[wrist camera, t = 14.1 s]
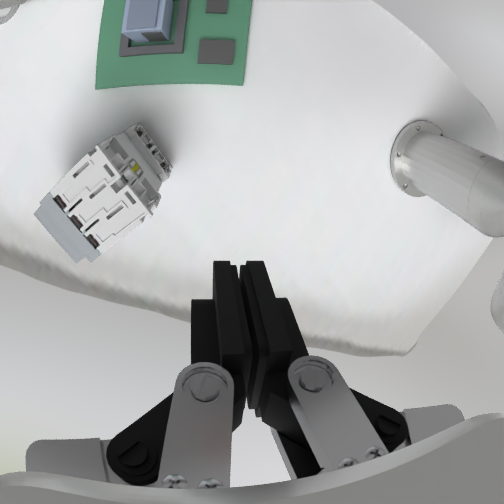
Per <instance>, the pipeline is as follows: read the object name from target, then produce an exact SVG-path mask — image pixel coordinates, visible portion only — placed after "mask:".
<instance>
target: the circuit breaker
mask: <svg viewBox="0 0 504 504" xmlns="http://www.w3.org/2000/svg"><path fill="white" fill-rule="evenodd" d="M140 130H141V132H142V133H143V134H142V135H141V136H140V137H139V136H138V134H137V132H138V131H140ZM144 135H145V136H146V137H145V136H144ZM146 138H147V139H148V140H149V141H148V140H147V139H146ZM149 143H150V144H151V146H152V147H150V148H149V147H148V146H147V145H148V144H149ZM153 150H155V151H156V153H154V154H153V152H152V151H153ZM158 154H159V155H160V156H159V155H158ZM160 157H161V158H162V159H161V158H160ZM162 162H164V163H165V166H163V167H161V166H160V164H161V163H162ZM171 169H172V166H171V165H170V164H169V162H168V161H167V159H166V158H165V157H164V155H163V154H162V153H161V151H160V150H159V148H158V147H157V146H156V144H155V143H154V142H153V140H152V139H151V137H150V136H149V135H148V133H147V132H146V131H145V129H144V128H143V126H142V125H141V124H140V122H139V123H138V124H135V125H133V126H131V127H129V128H128V129H127V130H126V131H124V132H123V133H121V134H119V135H117V136H115V135H113V136H111V137H109V138H107V139H106V140H104V141H103V142H102V143H101V144H98V145H96V146H95V149H94V150H92V151H91V152H89V153H87V154H86V155H85V156H84V157H83V158H82V159H81V160H80V161H79V162H78V163H77V164H76V165H75V166H74V167H73V168H72V169H71V170H70V171H69V172H68V173H67V174H66V175H65V176H64V177H63V178H62V179H61V180H60V181H59V182H58V183H57V184H56V185H55V186H54V187H53V188H52V189H51V190H50V191H49V193H48V194H47V195H46V196H45V197H44V198H43V199H42V200H41V201H40V204H41V206H40V207H39V208H38V209H37V210H36V212H35V213H34V215H35V216H36V218H37V219H38V220H39V221H40V222H41V224H42V225H43V226H44V227H45V228H46V230H47V231H48V232H49V233H50V234H51V235H52V237H53V238H54V239H55V240H56V241H57V242H58V243H59V245H60V246H61V247H62V248H63V249H64V250H65V251H66V252H67V253H68V255H69V256H70V257H71V258H72V259H73V260H74V261H75V262H76V263H78V262H79V261H80V260H81V259H83V258H84V257H86V258H87V259H88V260H89V261H90V262H92V261H93V260H95V259H96V258H97V257H98V256H100V255H101V254H102V253H103V252H105V251H106V250H107V249H109V248H110V247H111V246H112V245H114V244H115V243H116V242H118V241H119V240H120V239H122V238H123V237H124V236H126V235H127V234H128V233H130V232H131V231H132V230H134V229H135V228H136V227H138V226H139V225H140V224H142V223H143V221H144V218H145V216H146V215H148V216H149V217H151V216H152V215H153V213H152V212H151V211H152V210H154V209H155V208H157V206H158V204H159V201H160V198H161V195H160V194H159V193H158V191H159V188H160V186H161V184H162V182H164V181H165V180H166V179H168V178H169V176H170V173H171Z"/></svg>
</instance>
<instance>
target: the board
mask: <svg viewBox="0 0 504 504" xmlns="http://www.w3.org/2000/svg"><path fill="white" fill-rule="evenodd" d="M173 2H174V13H173V20H172V29H171V37H170V41H162V42H146V43H136V42H134V41H133V40H131V39H130V38H128V37H127V36H125V35H124V34H122V33H121V32H122V24H123V17H124V10H125V4H126V0H104V6H103V12H102V19H101V26H100V34H99V43H98V53H97V66H96V84H95V90H96V89H106V88H115V87H125V86H138V85H155V84H221V85H238V86H243V80H244V69H245V59H246V49H247V39H248V30H249V21H250V12H251V3H252V0H173Z"/></svg>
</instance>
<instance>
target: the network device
mask: <svg viewBox="0 0 504 504" xmlns="http://www.w3.org/2000/svg"><path fill="white" fill-rule="evenodd" d="M25 1H26V0H0V9H3V8H7V7H11V6H12V7H11V10H10V12H9V13H8V14H7V15H6V16H5V17H3V18H0V25H1V24H4V23H5V22H7V21H8V20H9V19H11V18H12V16H13V15H14V14H15V13H16V11H17V9H18V8H19V5H20V4H24V3H25Z"/></svg>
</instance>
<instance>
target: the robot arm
mask: <svg viewBox="0 0 504 504" xmlns="http://www.w3.org/2000/svg"><path fill="white" fill-rule="evenodd" d="M391 171H392V176H393V178H394V181H395V183H396V184H397V186H398V187H399V188H400V189H401V190H402V191H404V192H405V193H407V194H408V195H411V196H414V197H422V196H426V195H427V196H429V197H431V198H432V199H434V200H435V201H437V202H438V203H440V204H441V205H443V206H444V207H446V208H447V209H449V210H450V211H452V212H453V213H455V214H456V215H457V216H459V217H460V218H462V219H463V220H464V221H466V222H467V223H469V224H470V225H471V226H473V227H474V228H475V229H477V230H478V231H480V232H481V233H483V234H484V235H487V236H490V237H503V236H504V162H503V161H501V160H499V159H497V158H495V157H493V156H490V155H488V154H486V153H483V152H481V151H479V150H476V149H474V148H471V147H469V146H466V145H464V144H461V143H459V142H456V141H453V140H451V139H448V138H446V137H445V135H444V133H443V132H442V130H441V129H440V128H439V127H437V126H436V125H434V124H432V123H430V122H426V121H417V122H413V123H411V124H409V125H408V126H406V127H405V128H404V129H403V130H402V131H401V132H400V133H399V135H398V137H397V138H396V140H395V143H394V145H393V148H392V153H391ZM491 314H492V317H493V319H494V321H495V323H496V325H497V326H498V327H499V329H500V330H501V331H502V332H503V333H504V271H503V273H502V276H501V278H500V280H499V282H498V284H497V287H496V289H495V291H494V294H493V296H492V300H491ZM246 397H247V403H248V408H249V409H255V414H256V417H262V422H264V423H266V424H267V425H269V426H270V427H271V432H272V435H273V437H274V440H275V442H276V444H277V447H278V449H279V451H280V454H281V456H282V459H283V461H284V463H285V466H286V468H287V470H288V473H289V475H290V477H291V480H289V481H283V482H277V483H270V484H263V485H254V486H245V487H232V488H230V466H231V465H230V464H231V441H232V432H233V431H234V430H235V429H236V428H237V427H238V426H239V425H240V424H241V422H242V416H243V410H244V408H245V401H246ZM0 504H504V414H501V413H491V414H483V415H479V416H475V417H472V418H470V419H467V420H465V419H464V416H463V414H462V412H461V411H460V410H459V409H458V408H457V407H455V406H453V405H448V404H446V405H438V406H431V407H422V408H413V409H404V410H403V411H402V412H398V411H396V410H395V409H393V408H391V407H388V406H386V405H384V404H382V403H380V402H378V401H376V400H374V399H371V398H369V397H367V396H365V395H363V394H361V393H359V392H357V391H355V390H353V389H351V388H349V387H348V385H347V384H346V382H345V380H344V379H343V377H342V376H341V374H340V372H339V371H338V369H337V368H336V367H335V366H334V365H333V363H331V362H330V361H328V360H327V359H324V358H322V357H319V356H309V354H308V351H307V349H306V346H305V343H304V340H303V338H302V335H301V332H300V330H299V327H298V324H297V322H296V319H295V316H294V314H293V311H292V308H291V306H290V303H289V301H288V299H287V298H276V297H275V294H274V291H273V288H272V285H271V282H270V279H269V276H268V273H267V270H266V267H265V264H264V262H263V261H247V262H246V265H241V266H240V275H239V277H238V272H237V267H236V265H230V261H214V262H213V299H192V301H191V365H189V366H187V367H186V368H184V369H183V370H182V371H181V372H180V373H179V375H178V377H177V380H176V383H175V388H174V392H173V393H172V394H171V395H169V396H168V397H167V398H165V399H164V400H163V401H162V402H160V403H159V404H158V405H156V406H155V407H154V408H152V409H151V410H150V411H148V412H147V413H146V414H145V415H143V416H142V417H141V418H139V419H138V420H137V421H135V422H134V423H133V424H131V425H130V426H129V427H127V428H126V429H124V430H123V431H122V432H120V433H119V434H117V435H116V436H115V437H114V438H113V439H111V440H100V438H91V439H68V440H38V441H35V442H33V443H32V444H31V445H30V446H29V448H28V449H27V452H26V472H14V473H7V474H4V475H0Z"/></svg>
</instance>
